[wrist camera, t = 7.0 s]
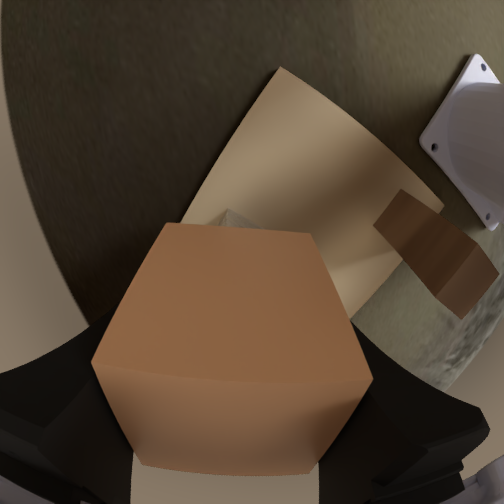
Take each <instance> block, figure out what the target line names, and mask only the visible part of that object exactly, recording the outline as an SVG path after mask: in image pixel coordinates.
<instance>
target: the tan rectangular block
mask: <svg viewBox="0 0 504 504" xmlns="http://www.w3.org/2000/svg"><path fill="white" fill-rule="evenodd" d="M91 363H92V366H93V368H94V371H95V373H96V376H97V378H98V380H99V383H100V385H101V387H102V389H103V392H104V394H105V396H106V398H107V400H108V403H109V405H110V407H111V409H112V411H113V413H114V415H115V417H116V419H117V421H118V423H119V425H120V427H121V429H122V430H123V432H124V434H125V436H126V438H127V440H128V441H129V443H130V445H131V447H132V449H133V450H134V452H135V454H136V455H137V457H138V459H139V460H140V462H141V464H142V465H146V466H151V467H157V468H163V469H169V470H176V471H184V472H193V473H202V474H214V475H232V476H280V475H281V476H282V475H299V474H309V473H310V471H311V470H312V469H313V468H314V466H315V465H316V464H317V462H318V461H319V460H320V459H321V457H322V456H323V455H324V453H325V452H326V451H327V449H328V448H329V447H330V445H331V444H332V442H333V441H334V440H335V438H336V437H337V435H338V434H339V432H340V431H341V430H342V428H343V427H344V425H345V424H346V422H347V421H348V419H349V418H350V416H351V415H352V413H353V412H354V410H355V408H356V407H357V405H358V404H359V402H360V400H361V399H362V397H363V396H364V394H365V392H366V391H367V389H368V387H369V385H370V384H371V382H372V380H373V377H372V374H371V372H370V369H369V366H368V364H367V361H366V359H365V356H364V354H363V351H362V349H361V346H360V344H359V341H358V339H357V337H356V334H355V332H354V329H353V327H352V325H351V322H350V320H349V317H348V315H347V313H346V310H345V308H344V306H343V303H342V301H341V299H340V297H339V294H338V292H337V290H336V288H335V285H334V283H333V281H332V279H331V276H330V274H329V272H328V270H327V268H326V266H325V263H324V261H323V259H322V257H321V255H320V253H319V250H318V248H317V246H316V244H315V242H314V240H313V238H312V236H311V234H310V233H301V232H289V231H277V230H265V229H252V228H239V227H226V226H212V225H197V224H182V223H166V224H165V226H164V228H163V229H162V231H161V232H160V234H159V236H158V237H157V239H156V241H155V242H154V244H153V246H152V247H151V249H150V251H149V252H148V254H147V256H146V258H145V259H144V261H143V263H142V265H141V266H140V268H139V270H138V272H137V273H136V275H135V277H134V279H133V280H132V282H131V284H130V286H129V288H128V290H127V291H126V293H125V295H124V297H123V299H122V301H121V303H120V304H119V306H118V308H117V310H116V312H115V314H114V316H113V318H112V320H111V322H110V324H109V326H108V328H107V330H106V332H105V334H104V336H103V338H102V340H101V342H100V344H99V346H98V348H97V350H96V352H95V354H94V357H93V359H92V361H91Z"/></svg>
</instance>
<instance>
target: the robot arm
mask: <svg viewBox="0 0 504 504" xmlns="http://www.w3.org/2000/svg"><path fill="white" fill-rule="evenodd" d="M481 66H482V69H481ZM419 143H420V146H421V147H422V148H423V149H424V150H425V152H426V153H427V154H428V155H429V156H430V157H431V158H432V159H433V160H434V161H435V162H436V164H437V165H438V166H439V167H440V168H441V169H442V170H443V172H444V173H445V174H446V175H447V176H448V177H449V179H450V180H451V181H452V182H453V183H454V185H455V186H456V187H457V188H458V190H459V191H460V192H461V193H462V195H463V196H464V197H465V199H466V200H467V201H468V203H469V204H470V205H471V207H472V208H473V209H474V211H475V212H476V213H477V215H478V216H479V217H480V219H481V220H482V222H483V223H484V225H485V226H486V228H488V229H489V230H490V231H492V230H494V229H495V228H496V226H497V225H498V223H499V222H501V223H502V224H504V84H500V82H499V81H498V79H497V78H496V76H495V75H494V74H493V72H492V71H491V69H490V68H489V67H488V65H487V64H486V63H485V61H484V60H483V59H482V57H481V56H480V55H479V54H472V55H471V56H470V58H469V59H468V61H467V63H466V65H465V66H464V68H463V70H462V71H461V73H460V75H459V76H458V78H457V80H456V81H455V83H454V85H453V86H452V88H451V89H450V91H449V93H448V94H447V96H446V97H445V99H444V101H443V102H442V104H441V105H440V107H439V108H438V110H437V111H436V113H435V115H434V116H433V118H432V119H431V121H430V122H429V124H428V125H427V127H426V128H425V130H424V131H423V133H422V134H421V136H420V138H419ZM433 143H434V145H435V148H434V150H433V151H432V150H431V146H432V144H433ZM486 215H487V216H486ZM121 301H122V300H121ZM121 301H120V302H119V303H118V304H117V305H116V306H114V307H113V308H112V309H111V310H110V311H109V312H107V313H106V314H105V315H104V316H102V317H101V318H100V319H99V320H97V321H96V322H95V323H93V324H92V325H91V326H90V327H88V328H87V329H86V330H84V331H83V332H82V333H80V334H79V335H77V336H76V337H74V338H73V339H71V340H69V341H68V342H66V343H65V344H63V345H62V346H60V347H58V348H56V349H54V350H53V351H51V352H49V353H47V354H45V355H43V356H41V357H39V358H37V359H35V360H33V361H31V362H29V363H27V364H24V365H22V366H19V367H17V368H14V369H12V370H9V371H6V372H3V373H0V504H130V495H131V494H130V493H131V474H132V462H133V452H134V450H133V449H132V447H131V445H130V443H129V441H128V440H127V438H126V436H125V434H124V432H123V430H122V429H121V427H120V425H119V423H118V421H117V419H116V417H115V415H114V413H113V411H112V409H111V407H110V405H109V403H108V400H107V398H106V396H105V394H104V392H103V389H102V387H101V385H100V383H99V380H98V378H97V376H96V373H95V371H94V368H93V366H92V363H91V361H92V359H93V357H94V354H95V352H96V350H97V348H98V346H99V344H100V342H101V340H102V338H103V336H104V334H105V332H106V330H107V328H108V326H109V324H110V322H111V320H112V318H113V316H114V314H115V312H116V310H117V308H118V306H119V304H120V303H121ZM350 322H351V321H350ZM351 325H352V327H353V329H354V332H355V334H356V337H357V339H358V341H359V344H360V346H361V349H362V351H363V354H364V356H365V359H366V361H367V364H368V366H369V369H370V372H371V374H372V377H373V380H372V382H371V384H370V385H369V387H368V389H367V391H366V392H365V394H364V396H363V397H362V399H361V400H360V402H359V404H358V405H357V407H356V408H355V410H354V412H353V413H352V415H351V416H350V418H349V419H348V421H347V422H346V424H345V425H344V427H343V428H342V430H341V431H340V432H339V434H338V435H337V437H336V438H335V440H334V441H333V442H332V444H331V445H330V447H329V448H328V449H327V451H326V452H325V453H324V455H323V456H322V457H321V459H320V460H319V461H318V463H319V504H504V455H502V456H501V457H499V458H497V459H495V460H494V461H492V462H491V463H489V464H488V465H486V466H485V467H484V468H482V469H481V470H479V471H478V472H477V473H476V474H475V475H473V476H471V477H469V478H467V479H465V480H463V481H462V479H461V476H460V473H459V472H460V471H462V470H463V468H464V466H463V463H462V461H461V460H462V459H463V458H465V456H467V455H468V454H469V453H471V452H472V451H473V450H474V449H475V448H476V447H478V446H479V445H480V444H481V443H482V442H483V441H484V440H485V439H486V437H487V436H488V434H489V431H490V428H489V426H488V423H487V421H486V419H485V417H484V415H483V413H482V411H481V410H480V408H479V407H476V406H473V405H471V404H468V403H466V402H463V401H461V400H458V399H456V398H454V397H452V396H449V395H447V394H446V393H444V392H442V391H440V390H438V389H436V388H434V387H432V386H431V385H429V384H427V383H425V382H424V381H422V380H421V379H419V378H418V377H416V376H414V375H413V374H411V373H410V372H408V371H407V370H406V369H404V368H403V367H401V366H400V365H399V364H397V363H396V362H395V361H394V360H392V359H391V358H390V357H388V356H387V355H386V354H385V353H384V352H382V351H381V350H380V349H379V348H378V347H377V346H376V345H375V344H374V343H372V342H371V341H370V340H369V339H368V338H367V337H366V336H365V335H364V334H363V333H362V332H361V331H360V330H359V329H358V328H357V327H356V326H355V325H354V324H353V323H352V322H351Z"/></svg>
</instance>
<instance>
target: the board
mask: <svg viewBox="0 0 504 504" xmlns="http://www.w3.org/2000/svg"><path fill="white" fill-rule="evenodd" d="M400 189H402V190H404V191H405V192H407V193H408V194H410V195H411V196H413V197H414V198H416V199H417V200H419V201H420V202H422V203H423V204H425V205H426V206H428V207H429V208H431V209H432V210H434V211H435V212H436V213H438V214H439V213H440V211H441V210H442V209H443V207H444V206H445V205H444V204H443V203H442V202H441V201H440V200H439V199H438V197H437V196H436V195H435V194H434V193H433V192H432V191H431V190H430V189H429V188H428V187H427V186H426V185H425V184H424V182H423V181H422V180H421V179H420V178H419V177H418V176H417V175H416V174H415V173H414V172H413V171H412V170H411V169H410V168H409V167H408V166H407V165H406V164H405V163H403V162H402V161H401V160H400V159H399V158H398V157H397V156H396V155H395V154H394V153H393V152H392V151H391V150H390V149H389V148H387V147H386V146H385V145H384V144H383V143H382V142H381V141H380V140H378V139H377V138H376V137H375V136H374V135H373V134H372V133H370V132H369V131H368V130H367V129H366V128H364V127H363V126H362V125H361V124H360V123H358V122H357V121H356V120H355V119H353V118H352V117H351V116H350V115H348V114H347V113H346V112H345V111H343V110H342V109H341V108H339V107H338V106H337V105H335V104H334V103H333V102H331V101H330V100H329V99H327V98H326V97H325V96H323V95H322V94H321V93H319V92H318V91H316V90H315V89H313V88H312V87H311V86H309V85H308V84H306V83H305V82H303V81H302V80H300V79H299V78H297V77H296V76H294V75H293V74H291V73H290V72H288V71H287V70H285V69H283V68H282V67H280V68H279V69H278V70H277V72H276V73H275V74H274V76H273V77H272V79H271V80H270V81H269V83H268V84H267V86H266V87H265V88H264V90H263V91H262V93H261V94H260V96H259V97H258V98H257V100H256V101H255V103H254V104H253V106H252V107H251V109H250V110H249V112H248V113H247V115H246V116H245V118H244V119H243V121H242V122H241V124H240V125H239V127H238V128H237V130H236V131H235V133H234V134H233V136H232V137H231V139H230V140H229V142H228V144H227V145H226V147H225V148H224V150H223V152H222V153H221V155H220V156H219V158H218V160H217V161H216V163H215V164H214V166H213V168H212V169H211V171H210V173H209V174H208V176H207V178H206V179H205V181H204V183H203V184H202V186H201V188H200V189H199V191H198V193H197V194H196V196H195V198H194V200H193V201H192V203H191V205H190V207H189V208H188V210H187V212H186V214H185V215H184V217H183V219H182V221H181V222H180V223H182V224H197V225H212V226H217V225H218V223H219V222H220V220H221V219H222V217H223V216H224V214H225V212H226V211H227V209H228V208H229V209H231V210H233V211H234V212H236V213H238V214H240V215H241V216H243V217H245V218H246V219H248V220H250V221H251V222H253V223H255V224H257V225H258V226H260V227H262V228H263V229H265V230H277V231H289V232H301V233H310V234H311V236H312V238H313V240H314V242H315V244H316V246H317V248H318V250H319V253H320V255H321V257H322V259H323V261H324V263H325V266H326V268H327V270H328V272H329V274H330V276H331V279H332V281H333V283H334V285H335V288H336V290H337V292H338V294H339V297H340V299H341V301H342V303H343V306H344V308H345V310H346V313H347V315H348V317H349V319H350V318H351V317H352V316H353V315H354V314H355V313H356V312H357V311H358V310H359V309H360V308H361V307H362V305H363V304H364V303H365V302H366V301H367V300H368V299H369V298H370V297H371V296H372V295H373V294H374V292H375V291H376V290H377V289H378V288H379V287H380V286H381V285H382V284H383V282H384V281H385V280H386V279H387V278H388V277H389V276H390V274H391V273H392V272H393V271H394V270H395V269H396V267H397V266H398V265H399V264H400V263H401V261H402V260H403V258H402V257H401V256H400V255H399V254H398V253H397V252H396V250H395V249H394V248H393V247H392V246H391V245H390V244H389V243H388V241H387V240H386V239H385V238H384V237H383V236H382V235H381V234H380V233H379V232H378V231H377V230H376V228H375V227H374V226H373V224H374V223H375V222H376V221H377V219H378V218H379V217H380V215H381V214H382V213H383V212H384V210H385V209H386V208H387V206H388V205H389V204H390V202H391V201H392V200H393V198H394V197H395V196H396V194H397V193H398V192H399V190H400Z"/></svg>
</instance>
